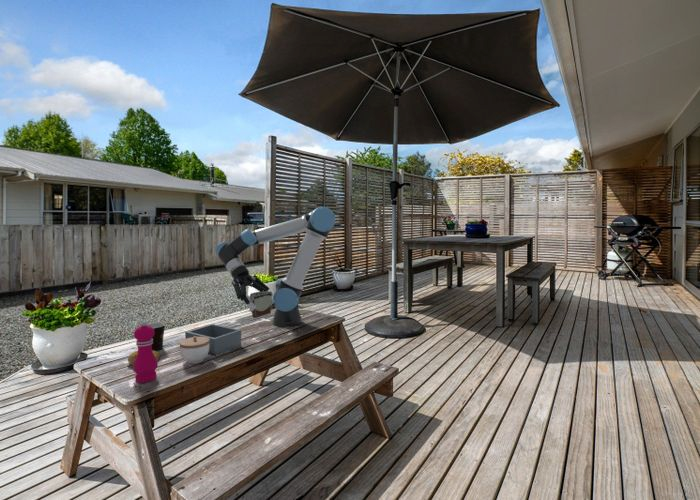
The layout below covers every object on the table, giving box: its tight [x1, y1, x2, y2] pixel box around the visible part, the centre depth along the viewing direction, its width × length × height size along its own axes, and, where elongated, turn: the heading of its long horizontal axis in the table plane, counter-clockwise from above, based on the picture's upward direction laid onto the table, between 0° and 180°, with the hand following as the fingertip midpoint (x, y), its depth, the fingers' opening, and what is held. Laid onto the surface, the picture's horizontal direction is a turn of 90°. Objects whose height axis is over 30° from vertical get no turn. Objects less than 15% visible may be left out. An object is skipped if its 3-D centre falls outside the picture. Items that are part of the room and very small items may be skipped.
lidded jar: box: [179, 336, 210, 364], centre depth 140 cm, size 11×11×9 cm
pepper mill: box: [132, 320, 159, 384], centre depth 123 cm, size 7×7×20 cm
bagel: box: [127, 350, 161, 366], centre depth 139 cm, size 10×11×5 cm
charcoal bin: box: [184, 323, 242, 357], centre depth 155 cm, size 14×18×7 cm
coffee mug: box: [147, 322, 166, 352], centre depth 153 cm, size 12×9×10 cm
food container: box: [248, 290, 274, 319], centre depth 165 cm, size 12×6×10 cm, turn 149°
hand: (263, 306), depth 163 cm, fingers closed on food container, 11 cm apart
